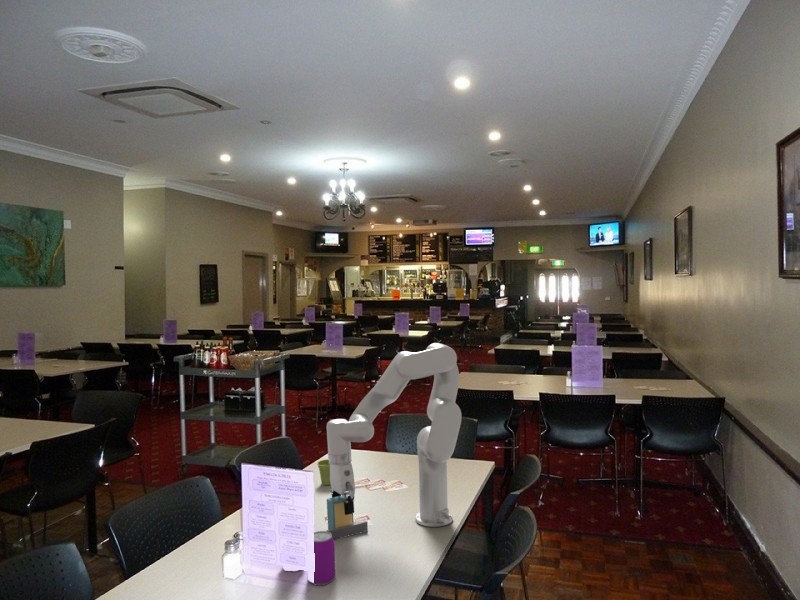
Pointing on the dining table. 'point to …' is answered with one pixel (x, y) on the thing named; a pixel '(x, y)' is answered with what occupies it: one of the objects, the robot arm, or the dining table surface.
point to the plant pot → (324, 471)
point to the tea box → (337, 513)
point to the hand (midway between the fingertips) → (343, 509)
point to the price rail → (348, 529)
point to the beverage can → (324, 557)
